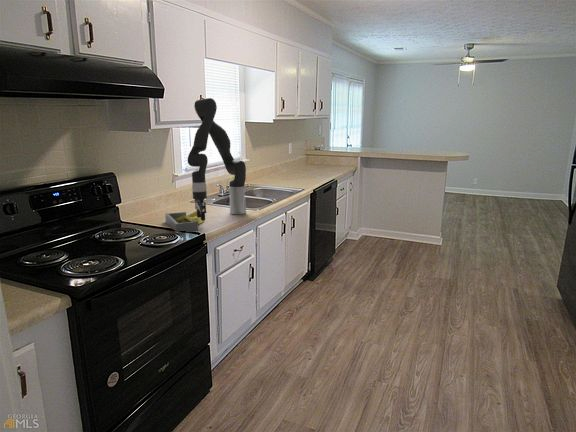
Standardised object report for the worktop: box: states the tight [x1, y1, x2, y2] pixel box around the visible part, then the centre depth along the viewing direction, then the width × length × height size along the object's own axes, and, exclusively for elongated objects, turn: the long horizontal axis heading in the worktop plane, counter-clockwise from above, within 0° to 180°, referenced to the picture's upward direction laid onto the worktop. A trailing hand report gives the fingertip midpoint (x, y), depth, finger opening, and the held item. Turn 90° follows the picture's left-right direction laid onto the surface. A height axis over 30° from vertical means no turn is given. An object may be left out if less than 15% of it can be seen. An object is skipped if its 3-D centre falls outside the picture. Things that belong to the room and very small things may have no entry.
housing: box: [164, 211, 199, 233], centre depth 225 cm, size 12×28×5 cm, turn 27°
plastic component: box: [174, 211, 205, 225], centre depth 229 cm, size 20×7×10 cm
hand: (201, 218), depth 229 cm, fingers open, 8 cm apart
